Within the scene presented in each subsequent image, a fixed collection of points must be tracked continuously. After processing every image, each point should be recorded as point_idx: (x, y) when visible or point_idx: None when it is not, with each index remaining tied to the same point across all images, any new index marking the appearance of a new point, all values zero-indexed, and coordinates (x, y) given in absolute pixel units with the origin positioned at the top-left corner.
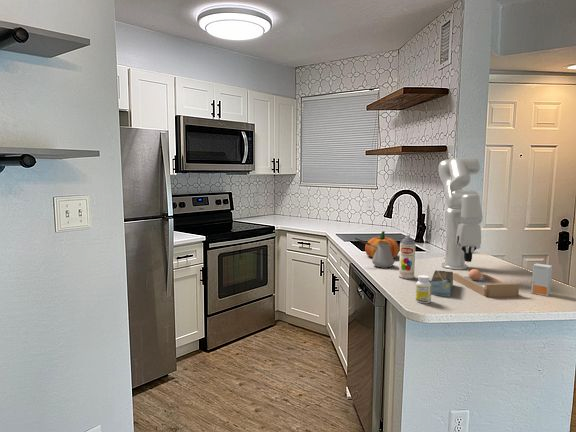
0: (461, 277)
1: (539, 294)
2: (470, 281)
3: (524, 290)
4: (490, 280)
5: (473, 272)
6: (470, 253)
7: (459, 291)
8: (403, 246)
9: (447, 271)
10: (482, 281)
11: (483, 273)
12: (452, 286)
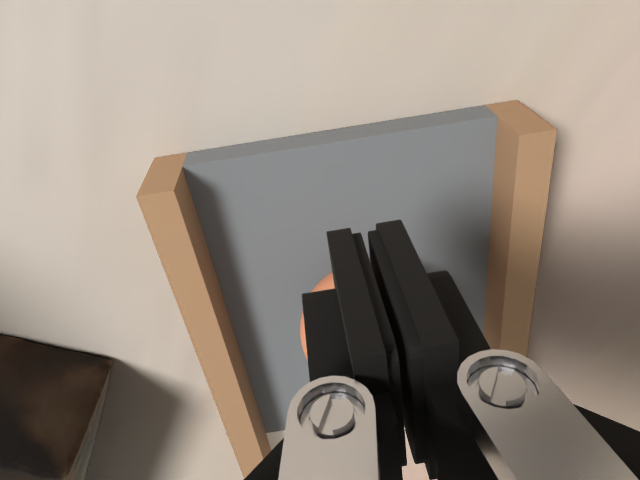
0: (199, 355)
1: None
2: (241, 467)
3: (626, 405)
4: (488, 330)
5: None
6: (427, 467)
7: (142, 475)
8: None
9: (3, 469)
10: None
11: (548, 186)
12: (98, 425)
